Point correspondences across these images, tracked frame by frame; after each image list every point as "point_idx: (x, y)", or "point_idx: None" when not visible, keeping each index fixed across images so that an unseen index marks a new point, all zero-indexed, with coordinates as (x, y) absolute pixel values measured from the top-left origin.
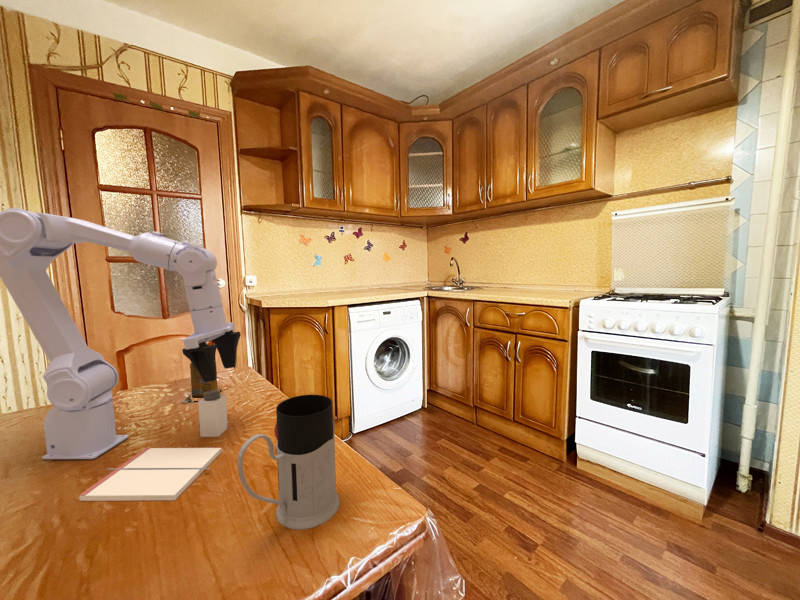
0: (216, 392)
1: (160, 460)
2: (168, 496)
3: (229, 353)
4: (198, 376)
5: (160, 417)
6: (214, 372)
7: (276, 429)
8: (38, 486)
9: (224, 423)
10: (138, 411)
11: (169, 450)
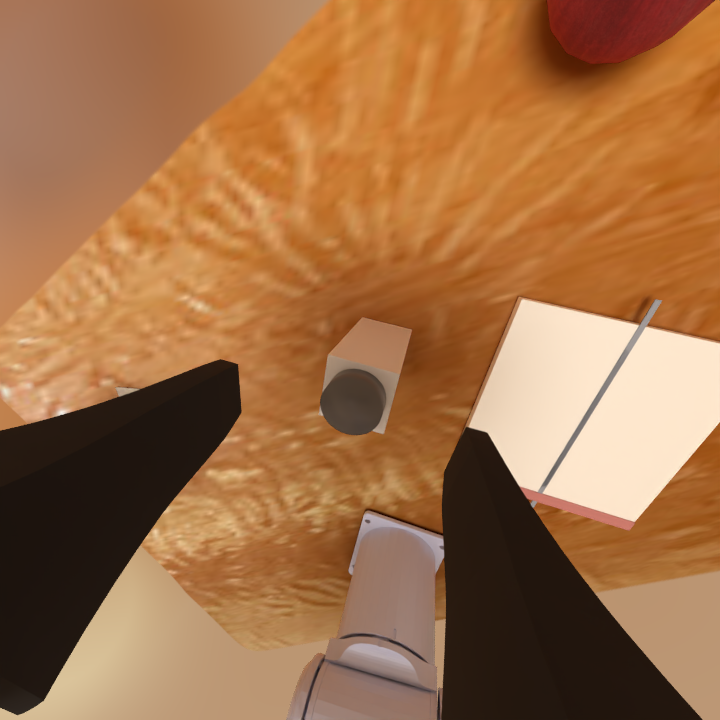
0: (355, 390)
1: (531, 432)
2: None
3: (155, 446)
4: None
5: (275, 478)
6: (503, 469)
7: (695, 11)
8: None
9: (372, 326)
10: (244, 518)
11: (481, 426)
